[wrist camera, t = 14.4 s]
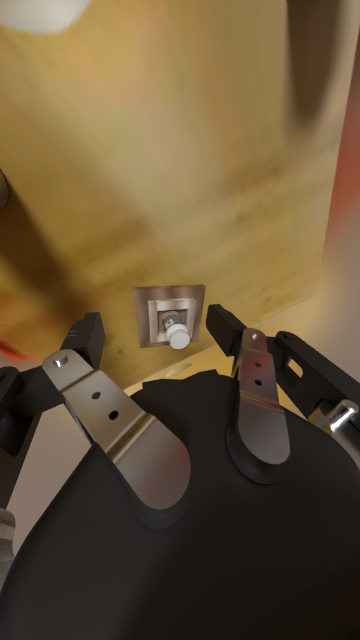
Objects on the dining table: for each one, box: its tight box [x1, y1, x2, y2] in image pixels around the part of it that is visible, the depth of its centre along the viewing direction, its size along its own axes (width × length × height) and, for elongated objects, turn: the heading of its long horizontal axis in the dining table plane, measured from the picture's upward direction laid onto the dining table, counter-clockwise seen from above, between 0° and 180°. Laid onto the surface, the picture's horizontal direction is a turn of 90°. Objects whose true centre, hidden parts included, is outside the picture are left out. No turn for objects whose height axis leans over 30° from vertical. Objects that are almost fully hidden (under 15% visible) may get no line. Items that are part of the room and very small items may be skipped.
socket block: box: [134, 285, 206, 348], centre depth 44 cm, size 18×18×4 cm
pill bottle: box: [161, 311, 190, 349], centre depth 40 cm, size 6×6×10 cm
